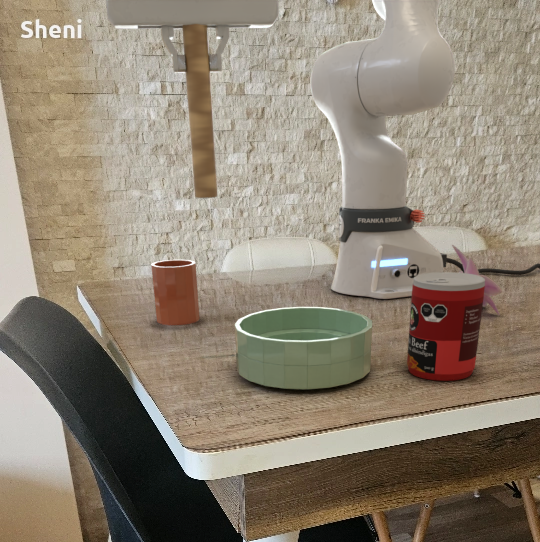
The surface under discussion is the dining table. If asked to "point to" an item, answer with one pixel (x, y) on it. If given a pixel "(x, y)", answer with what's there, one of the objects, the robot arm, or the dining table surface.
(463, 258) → the lily
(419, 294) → the canned food
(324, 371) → the bowl
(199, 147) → the stick
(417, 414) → the dining table surface
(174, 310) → the holder
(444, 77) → the robot arm
